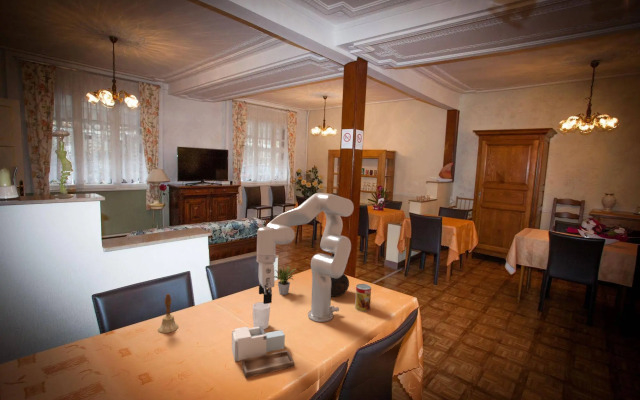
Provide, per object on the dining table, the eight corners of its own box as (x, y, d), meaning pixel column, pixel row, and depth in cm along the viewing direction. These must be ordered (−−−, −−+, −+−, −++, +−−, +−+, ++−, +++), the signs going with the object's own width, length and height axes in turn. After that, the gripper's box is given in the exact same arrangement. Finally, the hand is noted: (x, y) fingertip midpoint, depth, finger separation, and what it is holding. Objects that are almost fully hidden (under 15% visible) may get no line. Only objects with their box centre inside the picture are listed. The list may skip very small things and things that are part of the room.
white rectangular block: (281, 343, 131) (282, 330, 130) (284, 348, 127) (284, 334, 126) (248, 350, 125) (248, 336, 125) (249, 355, 122) (249, 341, 121)
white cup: (265, 331, 139) (266, 310, 138) (249, 329, 141) (249, 308, 140) (272, 323, 147) (272, 303, 146) (256, 321, 148) (256, 301, 147)
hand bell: (182, 326, 141) (182, 292, 140) (166, 335, 134) (166, 299, 132) (169, 322, 145) (169, 288, 143) (153, 330, 137) (152, 295, 135)
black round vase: (320, 286, 195) (322, 242, 192) (349, 288, 193) (351, 244, 190) (316, 297, 178) (318, 249, 175) (347, 300, 175) (350, 252, 172)
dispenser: (261, 344, 129) (262, 324, 128) (266, 355, 122) (266, 333, 121) (231, 350, 125) (232, 329, 124) (234, 361, 117) (235, 339, 116)
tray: (287, 354, 123) (287, 349, 123) (294, 366, 116) (294, 361, 116) (241, 364, 116) (241, 359, 116) (245, 377, 109) (245, 372, 108)
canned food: (368, 312, 162) (369, 290, 160) (353, 309, 164) (354, 287, 163) (371, 306, 169) (372, 285, 168) (356, 303, 172) (357, 282, 170)
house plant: (295, 299, 174) (295, 271, 172) (270, 298, 174) (271, 270, 173) (297, 289, 188) (298, 263, 187) (274, 288, 188) (275, 262, 187)
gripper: (280, 263, 120) (279, 306, 121) (270, 251, 136) (269, 289, 137) (260, 264, 117) (259, 308, 119) (253, 252, 133) (252, 291, 135)
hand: (265, 298), depth 128 cm, fingers open, 9 cm apart
